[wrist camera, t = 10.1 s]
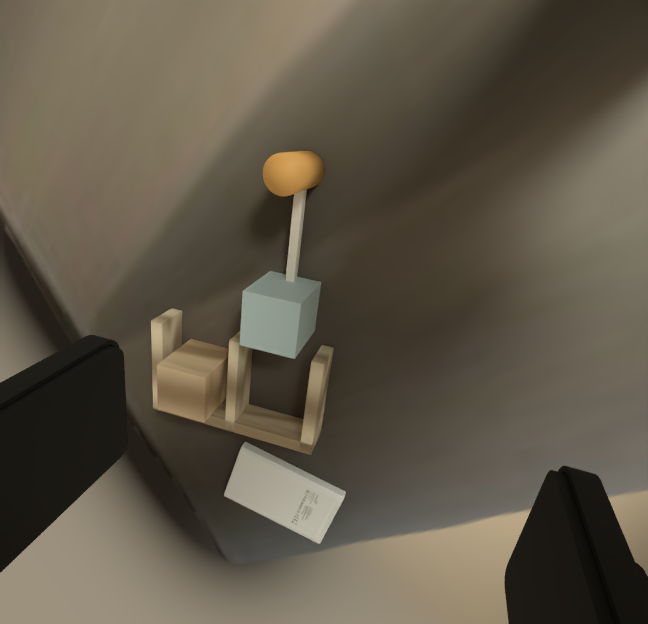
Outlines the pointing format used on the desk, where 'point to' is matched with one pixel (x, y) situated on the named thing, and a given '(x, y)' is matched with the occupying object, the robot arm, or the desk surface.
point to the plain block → (193, 380)
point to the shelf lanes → (236, 406)
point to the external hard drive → (283, 493)
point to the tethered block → (286, 289)
